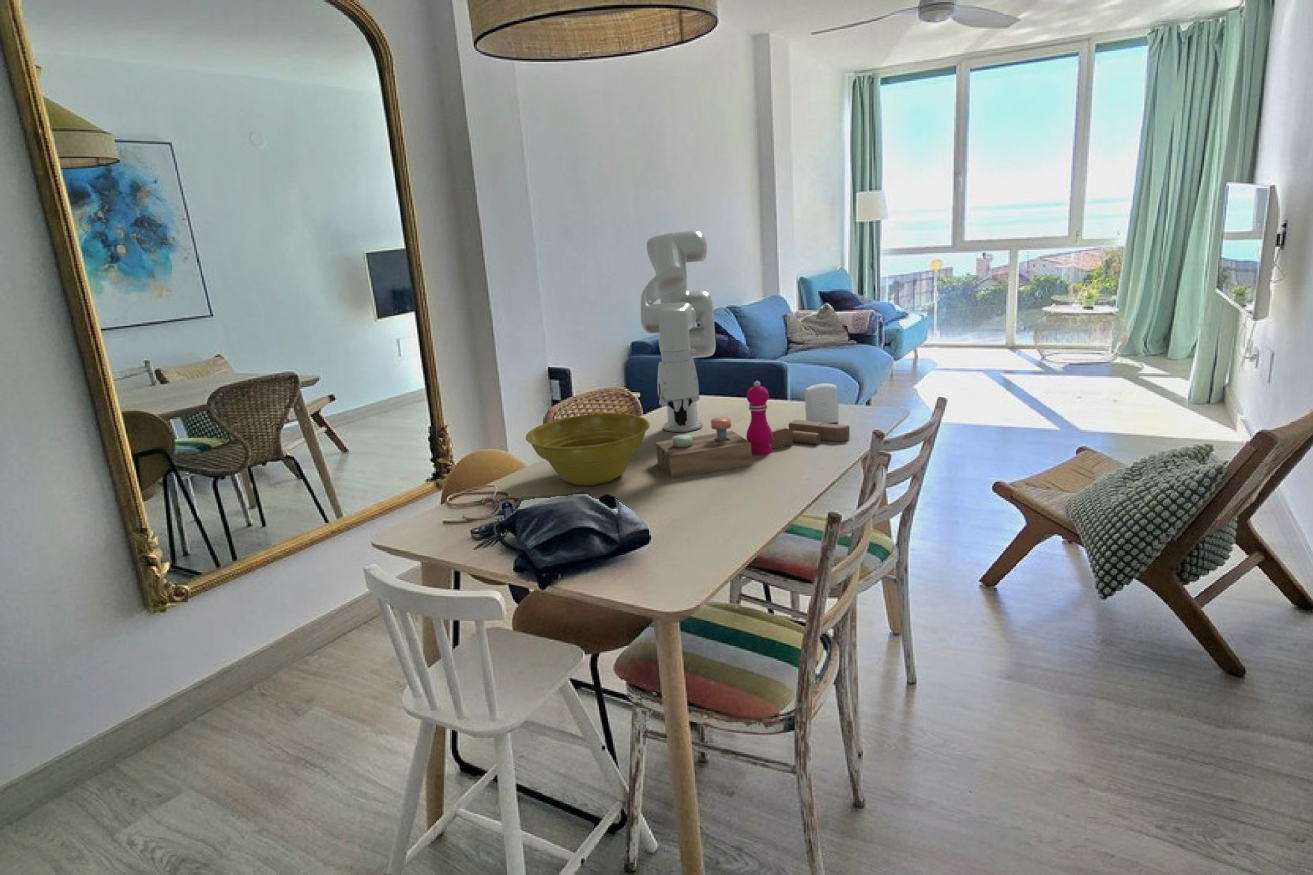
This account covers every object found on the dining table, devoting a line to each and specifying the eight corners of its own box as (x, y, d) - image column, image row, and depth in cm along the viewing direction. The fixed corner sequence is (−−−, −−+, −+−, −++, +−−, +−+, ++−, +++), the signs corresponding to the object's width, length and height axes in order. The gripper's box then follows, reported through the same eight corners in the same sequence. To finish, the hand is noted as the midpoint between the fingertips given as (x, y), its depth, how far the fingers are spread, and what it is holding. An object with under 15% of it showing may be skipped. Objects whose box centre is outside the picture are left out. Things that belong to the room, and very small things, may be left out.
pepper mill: (772, 455, 204) (769, 383, 199) (746, 455, 206) (742, 384, 200) (773, 447, 211) (771, 377, 206) (748, 448, 212) (744, 378, 207)
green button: (672, 463, 202) (669, 436, 200) (690, 460, 203) (688, 433, 201) (677, 468, 197) (675, 441, 195) (696, 465, 198) (694, 438, 196)
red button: (710, 445, 203) (708, 419, 201) (728, 443, 205) (726, 416, 203) (716, 450, 199) (714, 423, 197) (734, 447, 200) (733, 420, 198)
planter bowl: (589, 507, 176) (583, 453, 173) (507, 484, 198) (500, 436, 194) (679, 469, 199) (675, 420, 195) (596, 452, 220) (591, 408, 217)
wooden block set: (792, 415, 223) (850, 421, 212) (793, 434, 224) (850, 440, 213) (764, 429, 210) (824, 436, 199) (765, 449, 211) (824, 456, 200)
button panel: (657, 463, 205) (655, 442, 204) (733, 451, 211) (732, 430, 209) (671, 478, 192) (670, 455, 191) (752, 464, 197) (750, 443, 196)
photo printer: (808, 427, 229) (807, 387, 226) (803, 423, 233) (802, 384, 230) (840, 423, 230) (840, 383, 227) (835, 419, 234) (834, 381, 231)
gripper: (699, 350, 198) (703, 417, 203) (644, 357, 194) (650, 425, 200) (708, 354, 191) (712, 423, 196) (651, 362, 187) (657, 432, 193)
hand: (681, 424), depth 198 cm, fingers closed
